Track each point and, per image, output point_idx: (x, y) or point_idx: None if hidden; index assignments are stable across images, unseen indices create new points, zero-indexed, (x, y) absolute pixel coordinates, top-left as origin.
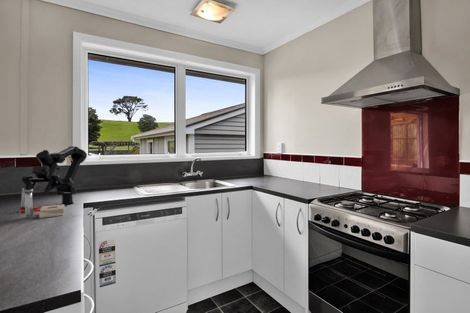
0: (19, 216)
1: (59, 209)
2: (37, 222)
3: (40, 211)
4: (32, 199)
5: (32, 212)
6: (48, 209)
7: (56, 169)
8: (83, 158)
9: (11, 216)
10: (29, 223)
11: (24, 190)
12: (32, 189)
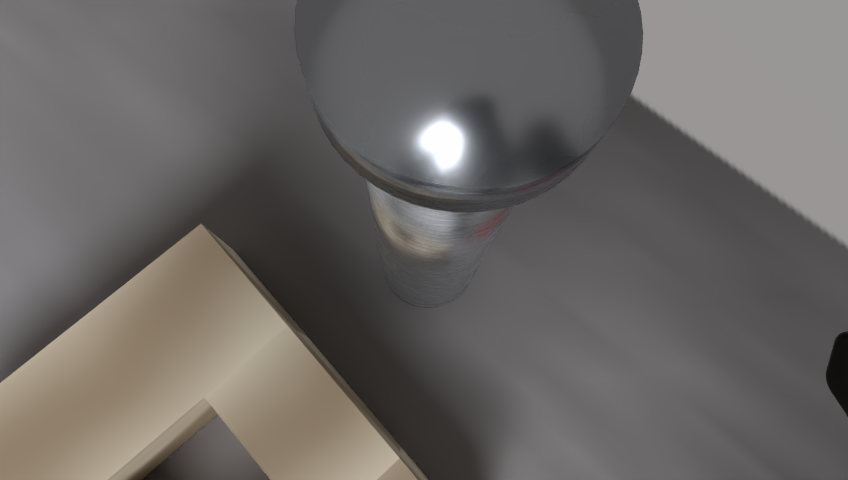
0: (650, 299)
1: None
2: (68, 59)
3: (190, 237)
4: (386, 221)
5: (382, 261)
6: (124, 353)
7: None
8: None
9: (776, 284)
10: (139, 13)
11: None
12: (385, 129)
